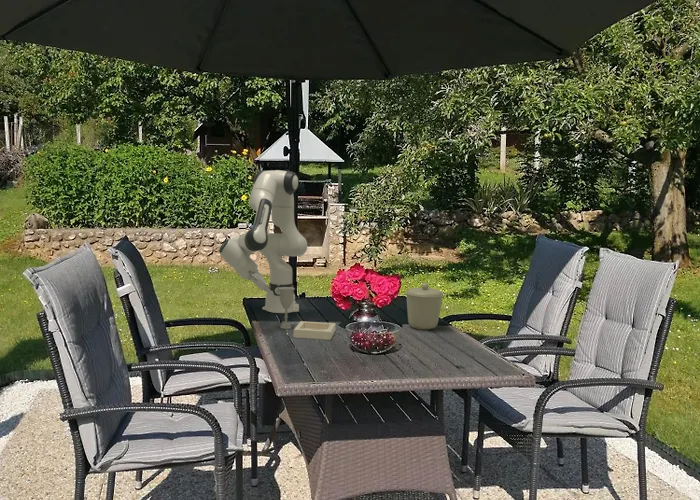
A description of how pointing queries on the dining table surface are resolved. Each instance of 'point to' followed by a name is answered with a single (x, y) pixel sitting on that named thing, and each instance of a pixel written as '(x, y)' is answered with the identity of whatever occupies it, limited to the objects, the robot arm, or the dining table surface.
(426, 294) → the canister
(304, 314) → the dining table surface
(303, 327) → the tray
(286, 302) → the chalice
